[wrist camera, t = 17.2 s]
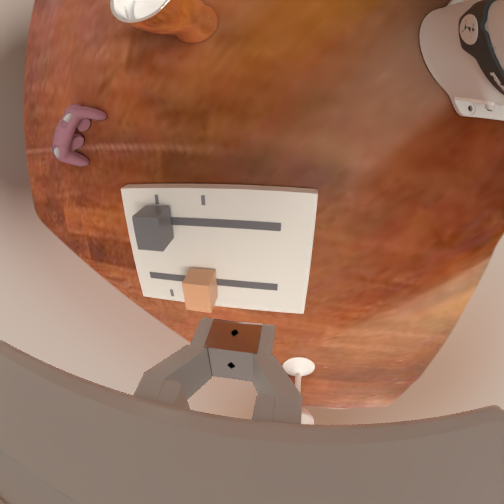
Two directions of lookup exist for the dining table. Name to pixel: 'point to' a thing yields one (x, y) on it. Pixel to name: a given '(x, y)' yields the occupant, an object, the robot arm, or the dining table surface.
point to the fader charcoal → (153, 228)
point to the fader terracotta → (200, 290)
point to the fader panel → (230, 242)
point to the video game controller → (65, 132)
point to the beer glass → (168, 17)
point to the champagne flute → (299, 369)
